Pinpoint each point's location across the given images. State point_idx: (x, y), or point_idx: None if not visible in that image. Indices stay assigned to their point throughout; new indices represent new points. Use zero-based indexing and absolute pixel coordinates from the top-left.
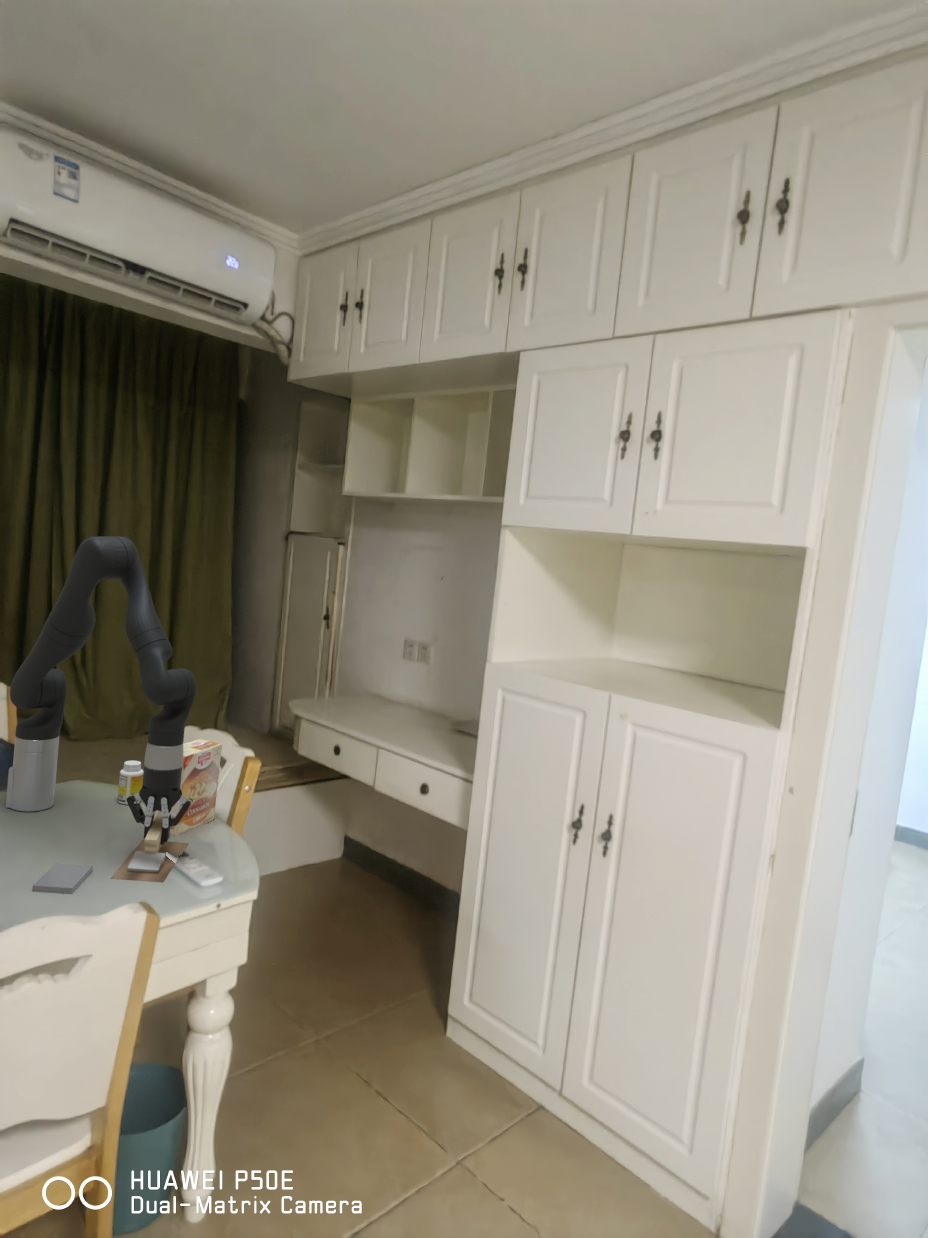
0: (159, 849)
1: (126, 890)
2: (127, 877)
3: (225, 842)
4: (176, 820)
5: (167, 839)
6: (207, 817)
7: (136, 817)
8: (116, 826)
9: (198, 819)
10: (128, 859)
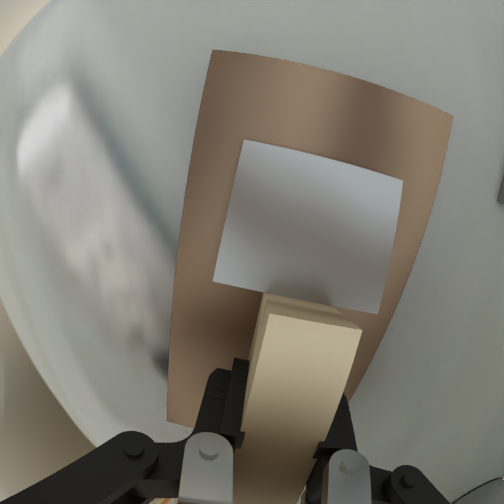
0: (254, 335)
1: (371, 30)
2: (389, 111)
3: (84, 413)
4: (110, 464)
5: (208, 377)
6: (159, 502)
7: (426, 494)
8: None
9: (171, 500)
10: (386, 312)
